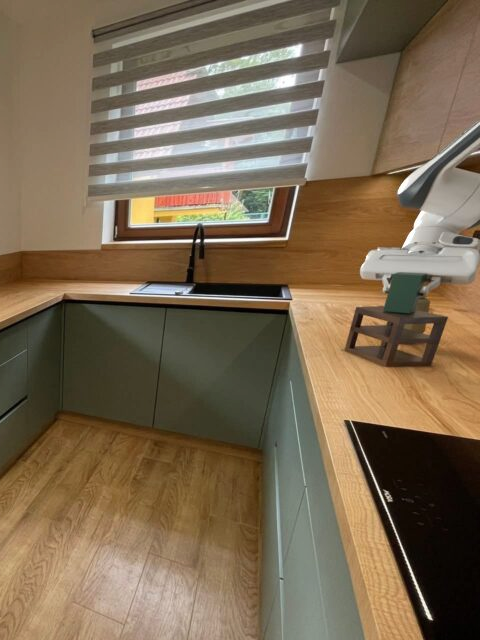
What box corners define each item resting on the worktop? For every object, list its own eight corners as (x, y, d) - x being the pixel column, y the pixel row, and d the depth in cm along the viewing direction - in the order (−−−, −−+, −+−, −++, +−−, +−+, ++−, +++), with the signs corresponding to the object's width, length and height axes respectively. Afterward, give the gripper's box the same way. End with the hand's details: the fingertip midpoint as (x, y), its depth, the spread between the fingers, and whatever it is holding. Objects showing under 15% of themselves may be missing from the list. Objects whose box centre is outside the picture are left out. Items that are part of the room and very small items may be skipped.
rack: (384, 349, 115) (397, 305, 111) (431, 366, 102) (448, 316, 98) (344, 350, 117) (355, 306, 112) (385, 366, 104) (400, 318, 99)
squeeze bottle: (393, 336, 126) (412, 274, 120) (427, 342, 119) (450, 277, 113) (374, 339, 124) (392, 276, 118) (408, 346, 117) (430, 279, 111)
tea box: (388, 308, 109) (399, 271, 105) (415, 310, 105) (427, 273, 102) (382, 311, 106) (393, 274, 103) (410, 313, 102) (422, 275, 99)
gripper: (371, 239, 111) (349, 281, 109) (490, 239, 95) (467, 288, 94) (371, 255, 115) (350, 296, 113) (486, 258, 99) (463, 305, 98)
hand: (404, 293), depth 103 cm, fingers closed on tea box, 5 cm apart
